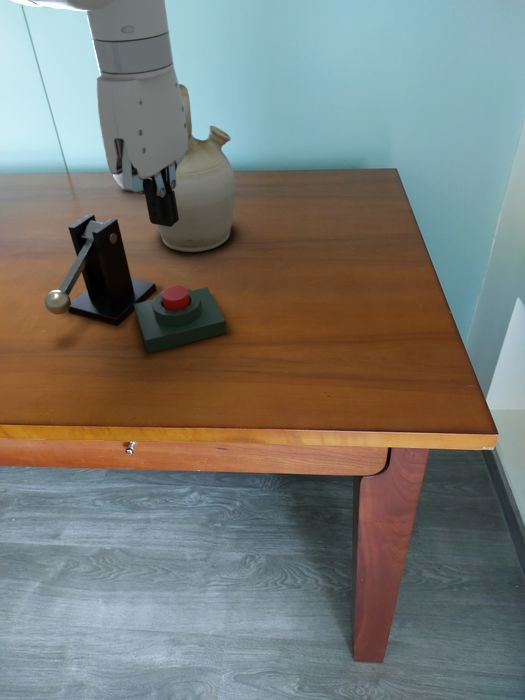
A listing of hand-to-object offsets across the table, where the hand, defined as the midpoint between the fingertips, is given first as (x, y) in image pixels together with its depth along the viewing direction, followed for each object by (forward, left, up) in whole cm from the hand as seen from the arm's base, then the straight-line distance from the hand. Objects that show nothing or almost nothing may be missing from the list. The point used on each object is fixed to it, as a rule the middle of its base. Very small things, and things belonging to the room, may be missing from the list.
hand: (164, 222), depth 65 cm
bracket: (-8, +10, -16) cm, 20 cm away
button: (0, 0, -12) cm, 12 cm away
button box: (0, 0, -16) cm, 16 cm away
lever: (-11, +7, -9) cm, 16 cm away
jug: (+9, +25, -16) cm, 31 cm away
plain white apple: (+2, +52, -16) cm, 54 cm away
